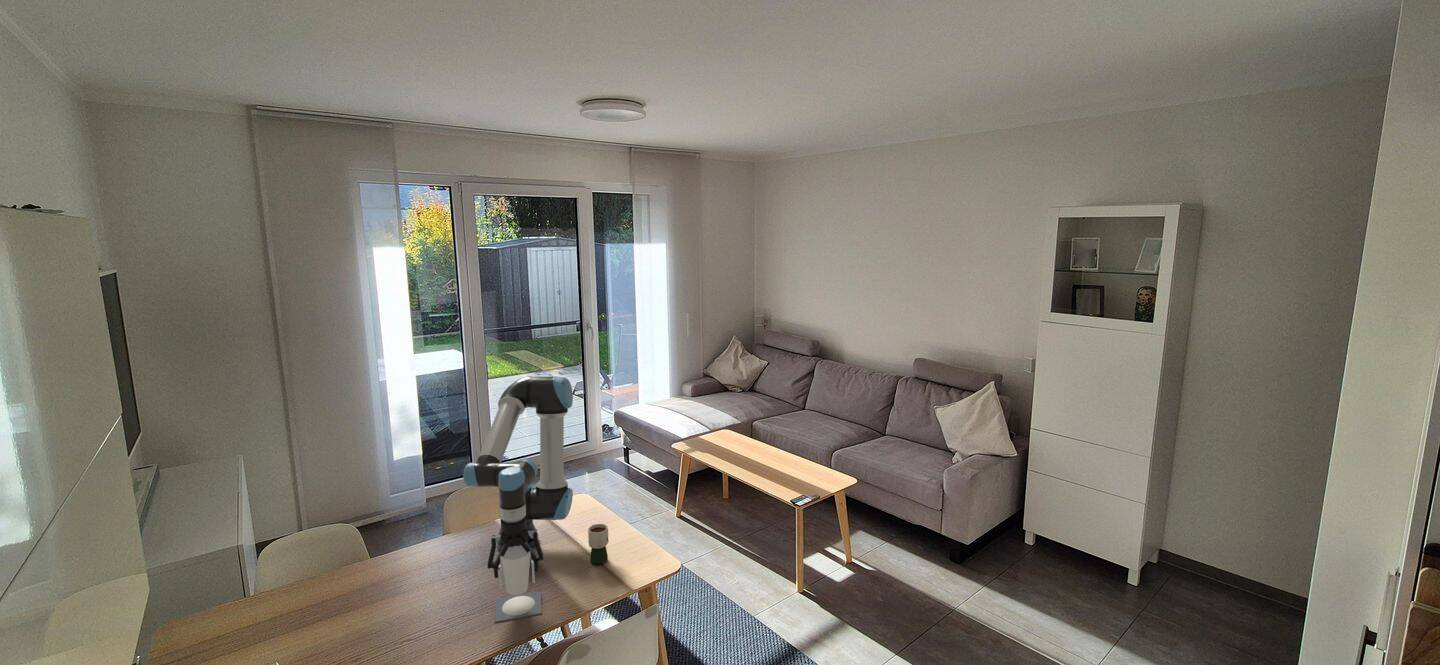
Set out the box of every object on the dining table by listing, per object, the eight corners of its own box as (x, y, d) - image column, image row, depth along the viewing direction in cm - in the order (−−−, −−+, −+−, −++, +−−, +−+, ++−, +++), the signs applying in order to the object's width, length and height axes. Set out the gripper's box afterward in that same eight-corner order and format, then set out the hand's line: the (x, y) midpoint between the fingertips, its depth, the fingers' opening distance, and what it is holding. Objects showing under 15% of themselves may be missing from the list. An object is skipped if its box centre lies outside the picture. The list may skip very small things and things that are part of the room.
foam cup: (523, 599, 187) (520, 561, 185) (495, 596, 189) (493, 557, 187) (538, 582, 196) (536, 545, 194) (512, 579, 198) (510, 542, 196)
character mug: (613, 565, 217) (612, 532, 215) (594, 571, 214) (593, 537, 212) (603, 551, 227) (602, 519, 224) (585, 556, 223) (584, 523, 221)
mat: (495, 599, 197) (495, 598, 197) (540, 592, 202) (540, 590, 202) (494, 622, 186) (494, 621, 186) (542, 613, 190) (541, 612, 190)
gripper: (474, 528, 181) (479, 596, 185) (550, 517, 188) (553, 583, 192) (476, 517, 188) (480, 582, 192) (549, 507, 195) (552, 571, 199)
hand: (517, 583), depth 192 cm, fingers closed on foam cup, 9 cm apart
